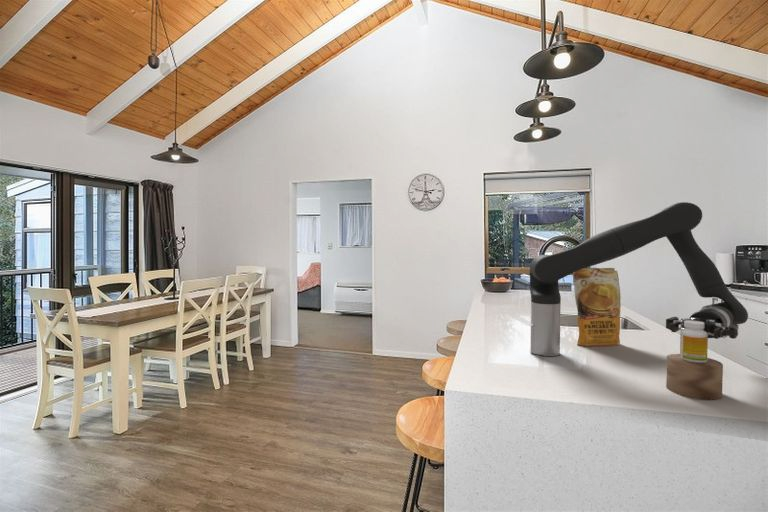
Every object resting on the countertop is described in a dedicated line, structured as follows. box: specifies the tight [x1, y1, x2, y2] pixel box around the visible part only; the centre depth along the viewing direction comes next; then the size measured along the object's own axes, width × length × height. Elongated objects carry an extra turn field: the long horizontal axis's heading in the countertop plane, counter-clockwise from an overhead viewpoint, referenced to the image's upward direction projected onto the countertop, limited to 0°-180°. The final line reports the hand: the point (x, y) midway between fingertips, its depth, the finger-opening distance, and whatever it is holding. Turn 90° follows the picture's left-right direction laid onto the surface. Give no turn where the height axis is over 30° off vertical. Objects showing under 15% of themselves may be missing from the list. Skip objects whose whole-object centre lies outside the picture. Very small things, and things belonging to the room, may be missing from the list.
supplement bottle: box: [679, 320, 709, 363], centre depth 97 cm, size 5×5×10 cm
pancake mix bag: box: [572, 267, 622, 347], centre depth 141 cm, size 7×19×28 cm, turn 94°
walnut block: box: [665, 353, 724, 401], centre depth 98 cm, size 11×11×8 cm
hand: (693, 331), depth 96 cm, fingers open, 8 cm apart
